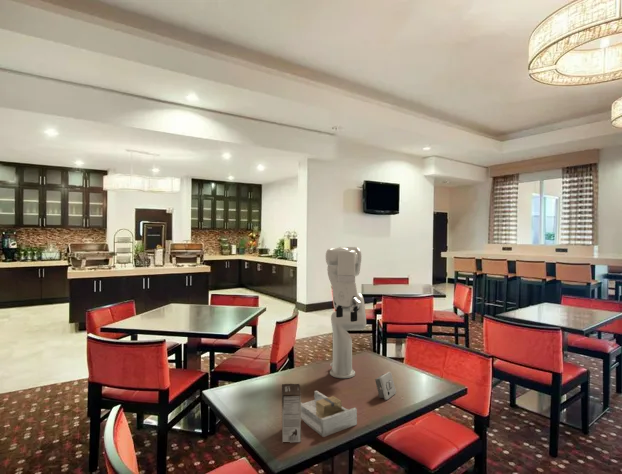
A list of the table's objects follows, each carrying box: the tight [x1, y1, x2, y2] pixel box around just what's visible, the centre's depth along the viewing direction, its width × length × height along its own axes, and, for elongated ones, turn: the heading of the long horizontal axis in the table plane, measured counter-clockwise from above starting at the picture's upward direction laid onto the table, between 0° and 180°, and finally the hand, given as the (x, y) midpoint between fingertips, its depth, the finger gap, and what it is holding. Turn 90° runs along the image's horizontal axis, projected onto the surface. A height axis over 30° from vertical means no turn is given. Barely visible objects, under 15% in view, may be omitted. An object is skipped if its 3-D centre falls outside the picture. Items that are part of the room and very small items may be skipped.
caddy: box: [301, 390, 358, 438], centre depth 138 cm, size 24×15×6 cm, turn 33°
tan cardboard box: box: [316, 395, 343, 418], centre depth 134 cm, size 5×8×7 cm, turn 123°
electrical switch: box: [374, 371, 397, 401], centre depth 157 cm, size 9×5×9 cm, turn 141°
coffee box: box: [281, 383, 302, 443], centre depth 125 cm, size 9×6×16 cm
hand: (346, 319), depth 155 cm, fingers open, 9 cm apart
